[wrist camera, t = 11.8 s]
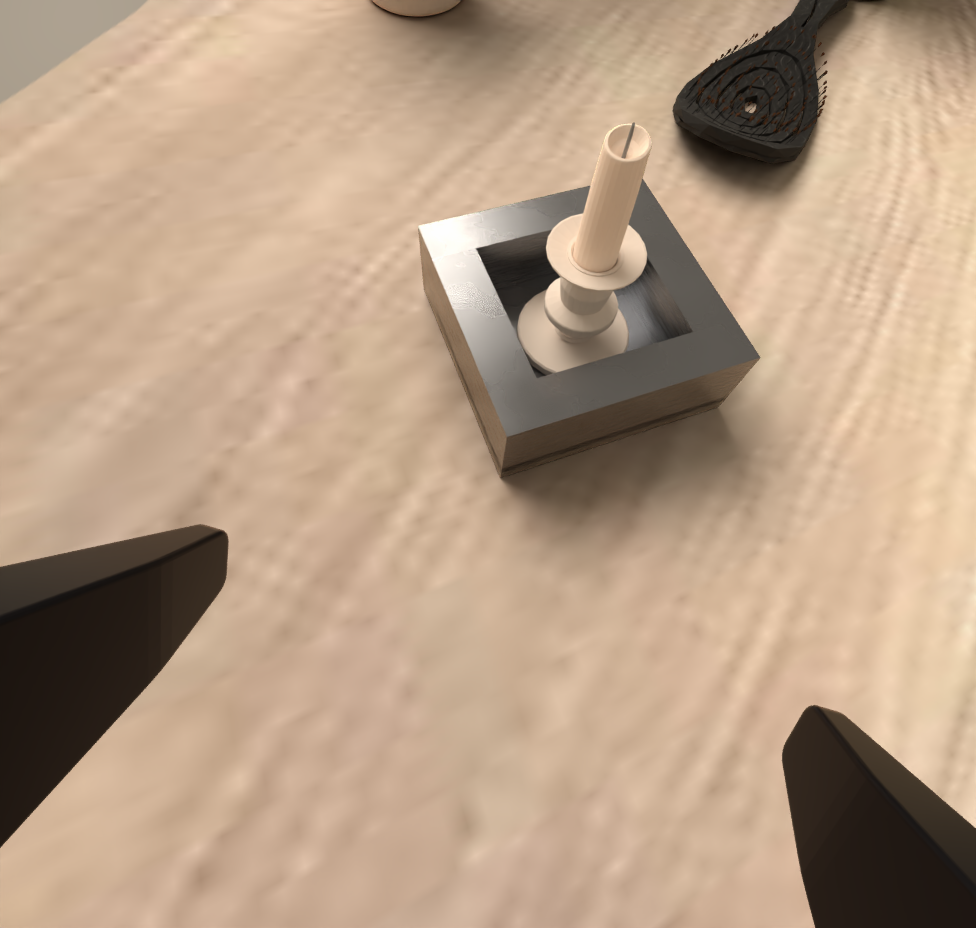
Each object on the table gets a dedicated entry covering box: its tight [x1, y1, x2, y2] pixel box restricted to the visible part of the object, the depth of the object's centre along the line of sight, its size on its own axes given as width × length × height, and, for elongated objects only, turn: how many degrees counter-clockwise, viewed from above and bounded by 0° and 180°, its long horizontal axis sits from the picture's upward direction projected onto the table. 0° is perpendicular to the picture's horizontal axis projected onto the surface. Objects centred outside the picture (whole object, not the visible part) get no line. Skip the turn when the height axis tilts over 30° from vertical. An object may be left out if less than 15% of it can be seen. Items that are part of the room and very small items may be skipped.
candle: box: [517, 123, 652, 375], centre depth 21 cm, size 5×5×10 cm
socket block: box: [418, 179, 760, 478], centre depth 25 cm, size 11×11×4 cm
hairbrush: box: [673, 0, 848, 163], centre depth 36 cm, size 8×4×25 cm
